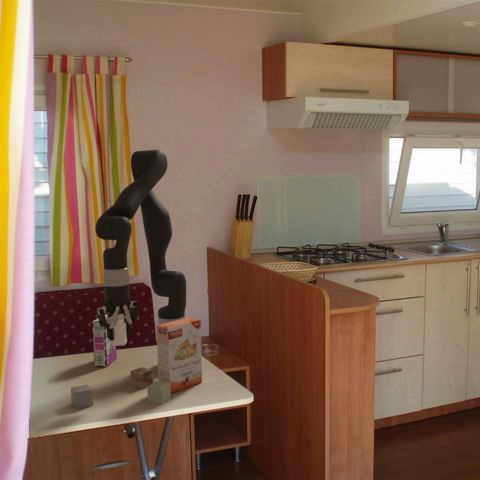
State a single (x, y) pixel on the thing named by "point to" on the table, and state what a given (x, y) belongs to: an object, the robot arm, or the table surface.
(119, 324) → the salt shaker
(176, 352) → the cracker box
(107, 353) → the candy bar box
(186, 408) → the table surface
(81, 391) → the slate grey block
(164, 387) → the sage green block
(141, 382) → the walnut block
